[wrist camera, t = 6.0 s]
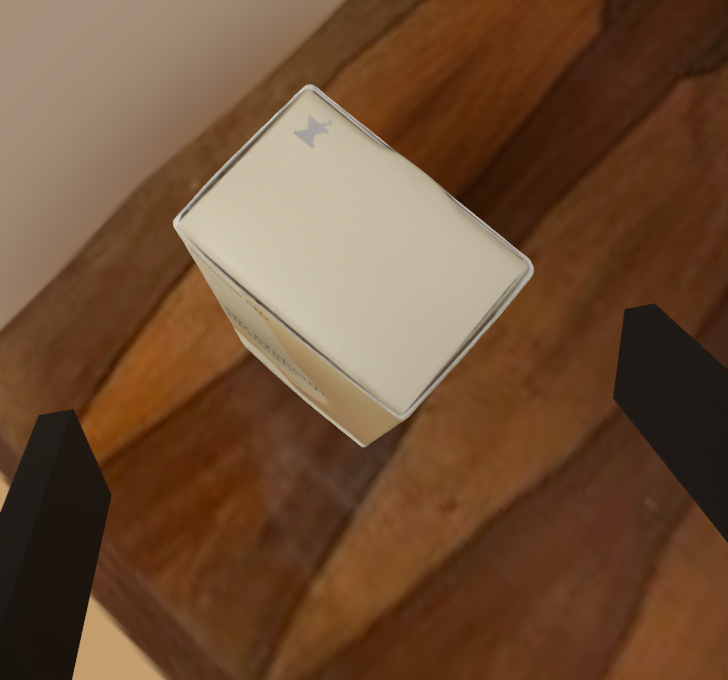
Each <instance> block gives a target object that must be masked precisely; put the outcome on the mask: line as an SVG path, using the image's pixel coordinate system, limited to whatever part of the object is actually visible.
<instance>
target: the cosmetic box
mask: <svg viewBox="0 0 728 680" xmlns="http://www.w3.org/2000/svg"><path fill="white" fill-rule="evenodd" d="M173 226H174V228H175V230H176V231H177V233H178V234H179V236H180V237H181V239H182V240H183V242H184V244H185V245H186V247H187V249H188V251H189V252H190V254H191V256H192V257H193V259H194V260H195V262H196V264H197V265H198V267H199V269H200V271H201V272H202V274H203V276H204V278H205V279H206V281H207V283H208V284H209V286H210V288H211V289H212V291H213V293H214V294H215V296H216V298H217V300H218V301H219V303H220V305H221V306H222V308H223V310H224V312H225V313H226V315H227V316H228V318H229V320H230V322H231V323H232V325H233V327H234V329H235V330H236V332H237V334H238V336H239V337H240V339H241V341H242V343H243V344H244V345H245V347H246V348H247V349H249V350H250V351H251V352H252V353H253V354H254V355H255V356H256V357H257V358H258V359H259V360H260V361H261V362H262V363H263V364H264V365H266V366H267V367H268V368H269V369H270V370H271V371H272V372H273V373H274V374H275V375H276V376H277V377H279V378H280V379H281V380H282V381H283V382H284V383H285V384H286V385H288V386H289V387H290V388H291V389H292V390H293V391H294V392H296V393H297V394H298V395H299V396H300V397H301V398H302V399H303V400H305V401H306V402H307V403H308V404H309V405H311V406H312V407H313V408H314V409H315V410H317V411H318V412H319V413H320V414H322V415H323V416H324V417H325V418H327V419H328V420H329V421H330V422H332V423H333V424H334V425H335V426H336V427H338V428H339V429H340V430H341V431H343V432H344V433H345V434H346V435H348V436H349V437H350V438H351V439H352V440H354V441H355V442H356V443H357V444H359V445H360V446H361V447H366V446H367V445H369V444H370V443H371V442H373V441H375V440H376V439H378V438H379V437H380V436H382V435H383V434H385V433H386V432H388V431H389V430H391V429H392V428H393V427H395V426H396V425H398V424H399V423H401V422H402V421H404V420H405V419H407V418H408V417H409V416H410V415H411V414H412V413H413V412H414V411H415V410H416V408H417V407H418V406H419V405H420V404H421V403H422V402H423V401H424V400H425V399H426V397H427V396H428V395H429V394H430V393H431V392H432V391H433V390H434V389H435V388H436V387H437V386H438V385H439V384H440V383H441V381H442V380H443V379H444V378H445V377H446V376H447V375H448V374H449V373H450V372H451V371H452V369H453V368H454V367H455V366H456V365H457V364H458V363H459V362H460V361H461V359H462V358H463V357H464V356H465V355H466V354H467V353H468V352H469V350H470V349H471V348H472V347H473V346H474V345H475V344H476V343H477V341H478V340H479V339H480V338H481V337H482V336H483V335H484V333H485V332H486V331H487V330H488V329H489V328H490V326H491V325H492V324H493V323H494V322H495V321H496V319H497V318H498V317H499V316H500V315H501V313H502V312H503V311H504V310H505V309H506V307H507V306H508V305H509V304H510V303H511V301H512V300H513V299H514V298H515V297H516V295H517V294H518V293H519V292H520V291H521V290H522V288H523V287H524V286H525V285H526V284H527V282H528V281H529V280H530V279H531V278H532V276H533V274H534V267H533V264H532V262H531V261H530V259H529V258H528V257H526V256H525V255H524V254H522V253H521V252H520V251H519V250H517V249H516V248H515V247H514V246H512V245H511V244H510V243H509V242H508V241H506V240H505V239H504V238H503V237H502V236H500V235H499V234H498V233H497V232H496V231H494V230H493V229H492V228H491V227H489V226H488V225H487V224H486V223H484V222H483V221H482V220H481V219H480V218H478V217H477V216H476V215H475V214H473V213H472V212H471V211H470V210H468V209H467V208H466V207H465V206H463V205H462V204H461V203H460V202H458V201H457V200H456V199H455V198H454V197H453V196H451V195H450V194H449V193H448V192H447V191H446V190H444V189H443V188H442V187H441V186H440V185H439V184H437V183H436V182H435V181H434V180H433V179H432V178H431V177H429V176H428V175H427V174H426V173H425V172H423V171H422V170H421V169H420V168H418V167H417V166H416V165H414V164H413V163H411V162H410V161H409V160H407V159H406V158H404V157H403V156H402V155H400V154H399V153H398V152H396V151H395V150H394V149H392V148H391V147H390V146H389V145H387V144H386V143H385V142H384V141H383V140H381V139H380V138H379V137H378V136H376V135H375V134H374V133H373V132H372V131H370V130H369V129H368V128H367V127H365V126H364V125H363V124H361V123H360V122H359V121H357V120H356V119H355V118H354V117H353V116H351V115H350V114H349V113H348V112H347V111H345V110H344V109H343V108H342V107H340V106H339V105H338V104H336V103H335V102H334V101H333V100H331V99H330V98H329V97H327V96H326V95H325V94H324V93H323V92H322V91H321V90H320V89H318V88H317V87H315V86H314V85H312V84H309V85H306V86H304V87H303V88H302V89H301V90H300V91H299V92H298V93H297V94H296V95H295V96H294V97H293V98H292V99H291V100H290V101H289V102H288V103H287V104H286V105H285V106H284V107H283V108H282V109H280V110H279V111H278V112H277V113H276V114H275V115H274V116H273V117H272V118H271V119H270V121H269V122H268V123H266V124H265V125H264V126H263V127H262V128H261V129H260V130H259V131H258V132H257V133H256V134H255V135H254V136H253V137H252V138H251V139H250V140H249V141H248V142H247V143H246V144H245V145H244V146H243V147H242V148H241V149H240V150H239V151H238V152H237V153H236V154H235V155H234V156H232V157H231V159H230V160H229V161H228V162H227V163H226V164H225V165H224V166H223V167H222V168H221V169H220V170H219V171H218V172H217V173H216V174H215V175H214V176H213V177H212V178H211V179H210V180H209V181H208V182H207V183H206V184H205V186H204V187H203V188H201V189H200V191H199V192H198V193H197V194H196V196H195V197H194V198H193V199H192V200H191V201H190V202H189V204H188V205H187V206H186V207H185V208H184V209H183V210H182V211H181V212H180V213H179V214H178V215H177V216H176V218H175V219H174V221H173Z"/></svg>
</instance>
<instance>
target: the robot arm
mask: <svg viewBox="0 0 728 680" xmlns="http://www.w3.org/2000/svg"><path fill="white" fill-rule="evenodd" d="M613 399H614V400H615V401H616V402H617V404H618V405H619V406H620V407H621V409H622V410H623V411H624V413H625V414H626V415H627V416H628V418H629V419H630V420H631V421H632V423H633V424H634V425H635V426H636V428H637V429H638V430H639V431H640V433H641V434H642V435H643V436H644V438H645V439H646V440H647V442H648V443H649V444H650V445H651V447H652V448H653V449H654V450H655V452H656V453H657V454H658V455H659V457H660V458H661V459H662V460H663V462H664V463H665V464H666V465H667V467H668V468H669V469H670V470H671V472H672V473H673V474H674V476H675V477H676V478H677V479H678V481H679V482H680V483H681V484H682V486H683V487H684V488H685V489H686V491H687V492H688V493H689V494H690V496H691V497H692V498H693V499H694V501H695V502H696V503H697V504H698V506H699V507H700V508H701V510H702V511H703V512H704V513H705V515H706V516H707V517H708V518H709V520H710V521H711V522H712V523H713V525H714V526H715V527H716V528H717V530H718V531H719V532H720V533H721V535H722V536H723V537H724V538H725V540H726V541H727V542H728V370H727V369H726V368H725V367H724V366H723V365H722V364H720V363H719V362H718V361H717V360H716V359H715V358H714V357H713V356H712V355H711V354H709V353H708V352H707V351H706V350H705V349H704V348H703V347H702V346H701V345H700V344H699V343H697V342H696V341H695V340H694V339H693V338H692V337H691V336H690V335H689V334H688V333H686V332H685V331H684V330H683V329H682V328H681V327H680V326H679V325H678V324H677V323H675V322H674V321H673V320H672V319H671V318H670V317H669V316H668V315H667V314H666V313H664V312H663V311H662V310H661V309H660V308H659V307H658V306H657V305H656V304H650V305H645V306H639V307H634V308H628V309H625V311H624V319H623V327H622V334H621V342H620V350H619V357H618V365H617V373H616V381H615V388H614V396H613ZM110 500H111V493H110V490H109V488H108V486H107V484H106V481H105V479H104V477H103V475H102V472H101V470H100V468H99V466H98V463H97V461H96V459H95V457H94V454H93V452H92V450H91V448H90V445H89V443H88V441H87V439H86V437H85V434H84V432H83V430H82V428H81V425H80V423H79V421H78V419H77V416H76V414H75V412H74V410H73V409H71V410H66V411H60V412H55V413H49V414H44V415H39V416H38V419H37V421H36V424H35V426H34V429H33V431H32V434H31V436H30V439H29V441H28V444H27V446H26V449H25V451H24V454H23V456H22V459H21V461H20V464H19V467H18V469H17V472H16V474H15V477H14V479H13V482H12V484H11V487H10V489H9V492H8V494H7V497H6V500H5V502H4V505H3V507H2V510H1V512H0V680H72V677H73V672H74V667H75V663H76V658H77V654H78V649H79V644H80V639H81V635H82V630H83V625H84V621H85V616H86V612H87V607H88V602H89V598H90V593H91V588H92V584H93V579H94V574H95V570H96V565H97V560H98V556H99V551H100V546H101V542H102V537H103V532H104V528H105V523H106V518H107V514H108V509H109V504H110Z"/></svg>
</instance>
